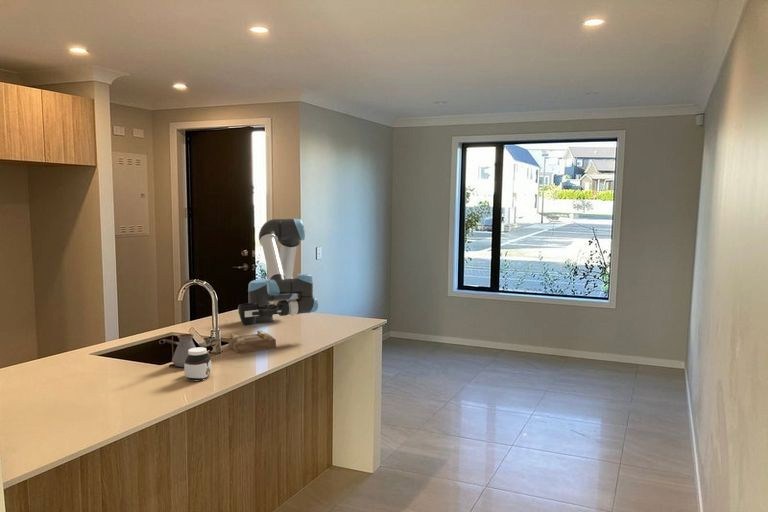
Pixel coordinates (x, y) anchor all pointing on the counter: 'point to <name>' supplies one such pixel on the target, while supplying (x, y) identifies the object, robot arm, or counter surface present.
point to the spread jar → (197, 364)
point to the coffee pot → (181, 348)
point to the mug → (247, 307)
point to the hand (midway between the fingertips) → (241, 312)
